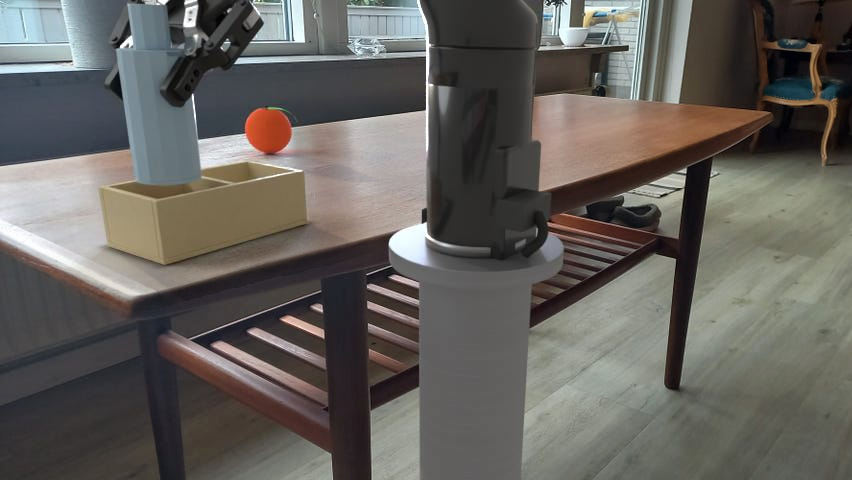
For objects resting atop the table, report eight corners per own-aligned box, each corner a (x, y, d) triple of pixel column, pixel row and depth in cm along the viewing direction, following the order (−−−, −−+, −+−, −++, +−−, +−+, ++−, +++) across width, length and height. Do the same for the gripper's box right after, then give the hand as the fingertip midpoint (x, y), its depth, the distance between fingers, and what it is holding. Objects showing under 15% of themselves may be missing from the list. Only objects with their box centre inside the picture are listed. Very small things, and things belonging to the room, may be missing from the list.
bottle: (215, 177, 62) (197, 6, 57) (159, 188, 58) (134, 3, 53) (178, 169, 65) (158, 4, 60) (122, 179, 60) (95, 2, 55)
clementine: (294, 147, 112) (291, 102, 109) (304, 155, 106) (302, 108, 103) (243, 150, 108) (239, 104, 106) (251, 158, 102) (246, 109, 100)
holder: (307, 223, 71) (304, 170, 69) (164, 265, 58) (155, 201, 56) (252, 210, 75) (248, 160, 73) (107, 246, 62) (97, 186, 60)
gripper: (143, -81, 63) (45, 61, 56) (272, -84, 58) (179, 72, 51) (193, -15, 69) (110, 119, 63) (313, -12, 64) (235, 134, 58)
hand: (142, 97), depth 57 cm, fingers closed on bottle, 5 cm apart
